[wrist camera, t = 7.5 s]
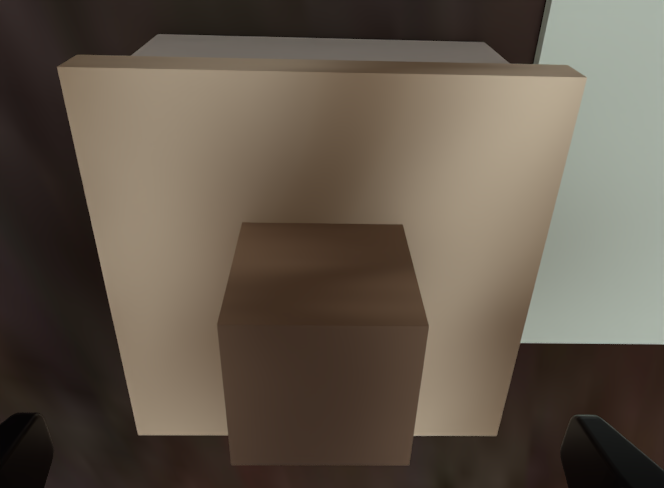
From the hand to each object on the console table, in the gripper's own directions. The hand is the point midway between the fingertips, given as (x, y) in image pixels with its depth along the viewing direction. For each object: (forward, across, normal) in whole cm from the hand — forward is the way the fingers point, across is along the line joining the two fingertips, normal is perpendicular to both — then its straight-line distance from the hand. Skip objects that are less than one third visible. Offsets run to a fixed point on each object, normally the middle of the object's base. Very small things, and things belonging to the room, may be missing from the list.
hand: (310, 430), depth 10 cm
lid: (+5, 0, 0) cm, 5 cm away
